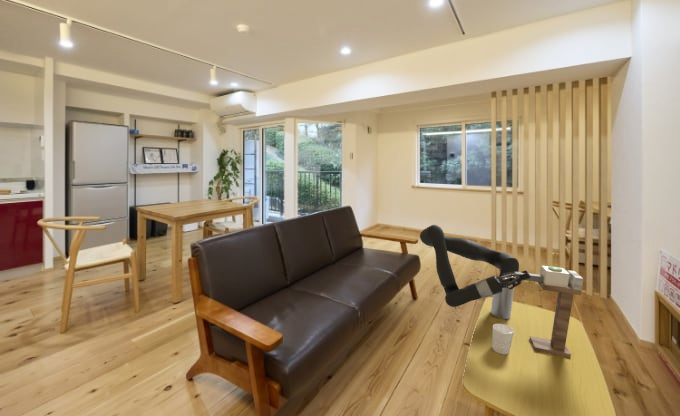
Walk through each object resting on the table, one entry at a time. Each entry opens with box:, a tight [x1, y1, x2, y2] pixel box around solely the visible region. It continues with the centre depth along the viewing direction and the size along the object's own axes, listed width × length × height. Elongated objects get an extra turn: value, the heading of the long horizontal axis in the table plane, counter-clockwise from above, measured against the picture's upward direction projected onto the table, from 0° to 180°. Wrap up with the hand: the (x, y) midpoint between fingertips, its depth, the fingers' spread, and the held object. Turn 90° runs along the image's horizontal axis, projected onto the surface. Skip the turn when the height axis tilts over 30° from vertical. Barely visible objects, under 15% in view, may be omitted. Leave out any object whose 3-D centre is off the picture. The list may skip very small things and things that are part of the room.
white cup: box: [491, 323, 515, 355], centre depth 130 cm, size 8×8×10 cm
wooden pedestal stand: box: [529, 269, 584, 358], centre depth 129 cm, size 9×13×35 cm
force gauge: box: [514, 265, 569, 288], centre depth 129 cm, size 7×18×6 cm, turn 71°
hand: (528, 273), depth 131 cm, fingers closed on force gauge, 2 cm apart
